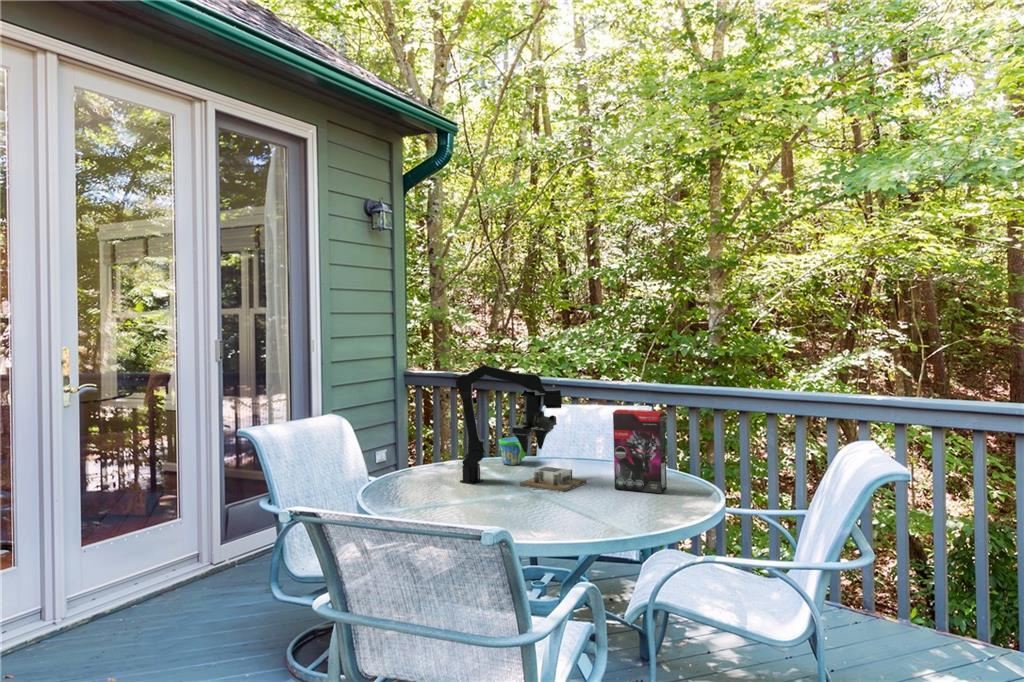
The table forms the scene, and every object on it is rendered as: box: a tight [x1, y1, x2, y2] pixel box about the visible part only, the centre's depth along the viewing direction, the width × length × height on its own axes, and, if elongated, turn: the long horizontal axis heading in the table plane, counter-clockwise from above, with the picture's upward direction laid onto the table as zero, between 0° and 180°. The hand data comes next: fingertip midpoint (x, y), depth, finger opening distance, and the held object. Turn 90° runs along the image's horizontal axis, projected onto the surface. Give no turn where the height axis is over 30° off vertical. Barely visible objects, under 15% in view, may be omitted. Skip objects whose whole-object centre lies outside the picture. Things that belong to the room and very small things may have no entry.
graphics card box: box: [612, 409, 668, 494], centre depth 245 cm, size 17×7×27 cm, turn 62°
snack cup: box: [498, 436, 526, 466], centre depth 294 cm, size 16×10×10 cm
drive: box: [534, 466, 572, 484], centre depth 256 cm, size 6×11×4 cm, turn 54°
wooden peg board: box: [519, 468, 588, 492], centre depth 256 cm, size 16×18×5 cm
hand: (533, 450), depth 263 cm, fingers open, 9 cm apart
